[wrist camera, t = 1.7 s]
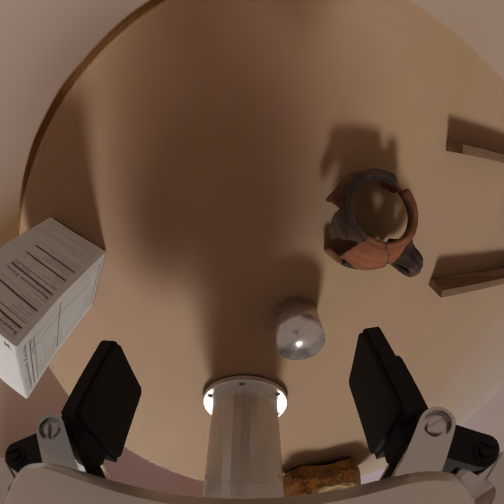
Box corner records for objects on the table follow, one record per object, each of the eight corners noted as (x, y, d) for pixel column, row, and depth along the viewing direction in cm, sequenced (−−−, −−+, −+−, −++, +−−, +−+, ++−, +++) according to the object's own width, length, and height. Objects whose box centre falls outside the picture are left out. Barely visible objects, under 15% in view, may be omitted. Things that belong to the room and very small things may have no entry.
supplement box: (50, 214, 26) (-52, 278, 11) (107, 249, 28) (15, 344, 12) (41, 275, 29) (-34, 348, 14) (92, 308, 31) (27, 402, 16)
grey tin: (314, 329, 32) (323, 357, 27) (273, 332, 32) (276, 361, 28) (317, 294, 30) (327, 321, 26) (272, 297, 30) (276, 325, 26)
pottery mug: (294, 242, 28) (314, 224, 20) (335, 174, 29) (363, 138, 21) (383, 302, 28) (426, 304, 20) (415, 232, 29) (458, 216, 21)
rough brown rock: (381, 448, 50) (397, 491, 36) (347, 476, 55) (356, 516, 41) (303, 447, 48) (311, 503, 34) (273, 475, 52) (276, 522, 38)
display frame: (507, 271, 29) (518, 279, 27) (429, 285, 30) (440, 297, 27) (525, 162, 22) (538, 165, 20) (446, 142, 23) (462, 144, 20)
